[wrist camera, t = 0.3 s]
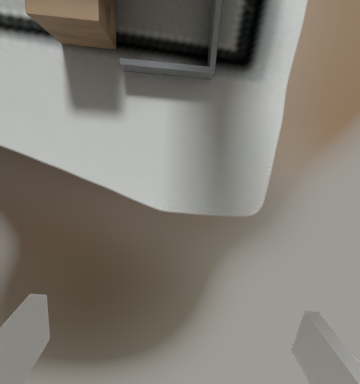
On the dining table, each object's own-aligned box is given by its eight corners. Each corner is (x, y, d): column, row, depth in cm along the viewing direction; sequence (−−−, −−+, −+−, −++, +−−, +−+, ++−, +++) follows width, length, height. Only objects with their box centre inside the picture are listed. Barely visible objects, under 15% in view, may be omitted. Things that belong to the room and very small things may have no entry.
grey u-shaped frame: (124, -39, 29) (119, -58, 26) (221, -27, 30) (226, -44, 27) (124, 70, 32) (119, 64, 29) (210, 79, 33) (214, 73, 30)
